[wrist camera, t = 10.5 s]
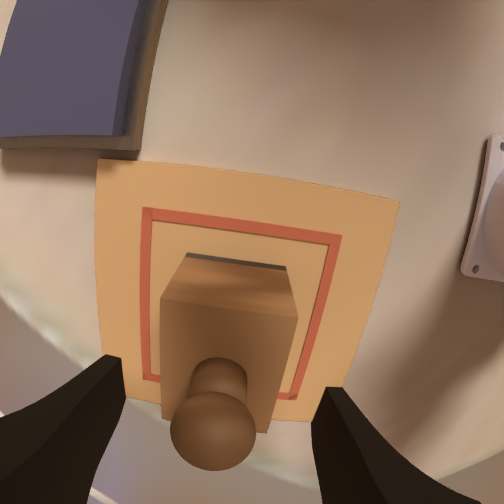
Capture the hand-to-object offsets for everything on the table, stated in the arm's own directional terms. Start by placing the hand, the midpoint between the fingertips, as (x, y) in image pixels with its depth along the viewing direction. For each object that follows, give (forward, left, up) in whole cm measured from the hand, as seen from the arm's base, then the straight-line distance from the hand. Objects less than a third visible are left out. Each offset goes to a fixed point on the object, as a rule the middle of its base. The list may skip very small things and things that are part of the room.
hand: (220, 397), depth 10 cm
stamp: (0, 0, -6) cm, 6 cm away
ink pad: (+10, -13, -6) cm, 17 cm away
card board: (0, 0, -6) cm, 6 cm away
